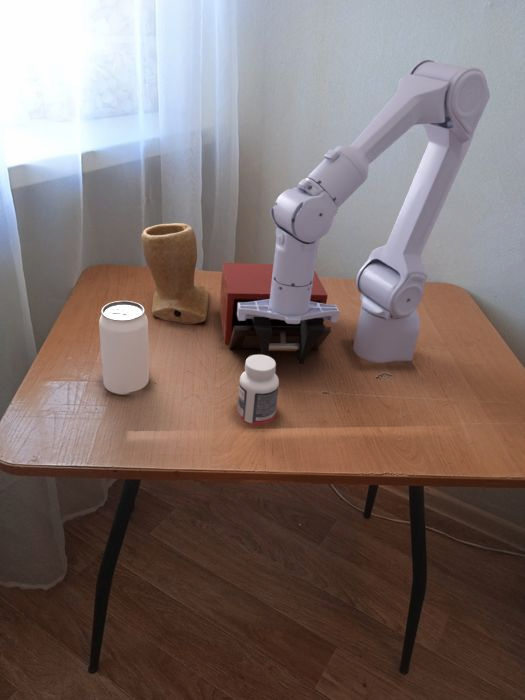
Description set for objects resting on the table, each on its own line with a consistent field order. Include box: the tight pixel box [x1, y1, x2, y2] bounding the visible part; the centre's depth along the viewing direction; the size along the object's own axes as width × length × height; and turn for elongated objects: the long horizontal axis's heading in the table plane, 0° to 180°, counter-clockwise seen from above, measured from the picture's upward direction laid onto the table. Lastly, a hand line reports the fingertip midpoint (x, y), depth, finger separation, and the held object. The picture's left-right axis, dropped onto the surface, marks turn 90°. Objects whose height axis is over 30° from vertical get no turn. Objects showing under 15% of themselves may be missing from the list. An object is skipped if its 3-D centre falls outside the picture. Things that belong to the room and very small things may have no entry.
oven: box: [219, 262, 329, 345], centre depth 96 cm, size 16×12×10 cm
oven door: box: [228, 326, 332, 352], centre depth 88 cm, size 15×4×9 cm
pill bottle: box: [236, 354, 280, 425], centre depth 75 cm, size 5×5×9 cm
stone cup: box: [140, 222, 209, 325], centre depth 99 cm, size 15×12×15 cm
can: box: [98, 300, 150, 396], centre depth 78 cm, size 6×6×12 cm
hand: (281, 361), depth 85 cm, fingers closed on oven door, 5 cm apart
